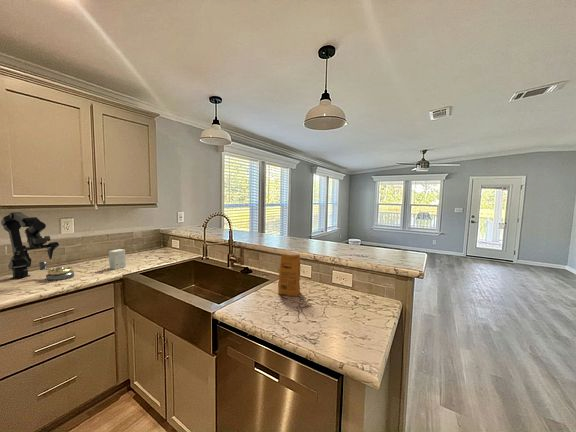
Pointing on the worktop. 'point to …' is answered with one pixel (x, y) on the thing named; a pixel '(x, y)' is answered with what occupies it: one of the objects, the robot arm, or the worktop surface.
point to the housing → (59, 277)
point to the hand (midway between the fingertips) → (40, 261)
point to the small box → (117, 259)
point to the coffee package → (289, 275)
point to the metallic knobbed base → (56, 271)
